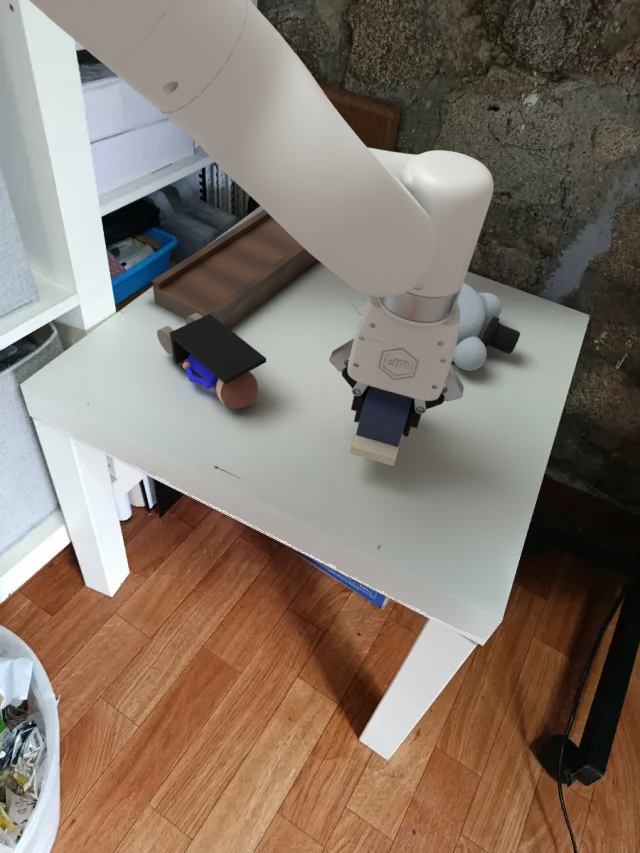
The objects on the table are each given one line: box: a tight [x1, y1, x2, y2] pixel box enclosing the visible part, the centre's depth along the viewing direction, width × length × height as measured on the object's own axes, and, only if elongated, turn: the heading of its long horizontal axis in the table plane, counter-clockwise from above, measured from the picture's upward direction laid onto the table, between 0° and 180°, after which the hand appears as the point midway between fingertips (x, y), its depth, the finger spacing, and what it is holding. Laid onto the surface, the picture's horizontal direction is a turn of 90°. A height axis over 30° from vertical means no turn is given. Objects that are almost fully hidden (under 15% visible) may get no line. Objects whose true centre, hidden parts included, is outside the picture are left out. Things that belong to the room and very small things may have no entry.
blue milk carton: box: [349, 386, 412, 467], centre depth 72 cm, size 12×5×6 cm, turn 164°
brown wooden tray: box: [151, 209, 318, 329], centre depth 96 cm, size 28×11×4 cm, turn 147°
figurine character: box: [156, 313, 267, 409], centre depth 79 cm, size 7×8×15 cm
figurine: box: [451, 282, 521, 372], centre depth 89 cm, size 17×8×20 cm
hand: (383, 420), depth 74 cm, fingers closed on blue milk carton, 5 cm apart
